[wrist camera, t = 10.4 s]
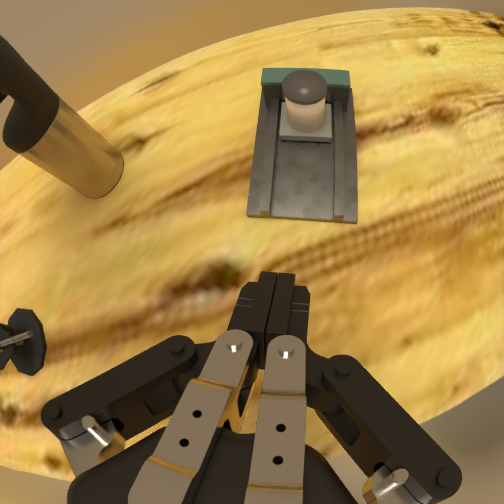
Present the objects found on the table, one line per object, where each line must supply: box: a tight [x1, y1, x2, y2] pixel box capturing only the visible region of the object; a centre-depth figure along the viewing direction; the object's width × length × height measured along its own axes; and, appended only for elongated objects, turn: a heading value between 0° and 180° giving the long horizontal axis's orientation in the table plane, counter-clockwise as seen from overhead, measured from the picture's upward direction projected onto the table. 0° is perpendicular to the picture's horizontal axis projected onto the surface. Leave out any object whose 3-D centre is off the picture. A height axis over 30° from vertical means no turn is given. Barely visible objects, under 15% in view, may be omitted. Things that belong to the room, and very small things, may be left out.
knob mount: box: [246, 68, 357, 224], centre depth 38 cm, size 14×22×7 cm, turn 174°
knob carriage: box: [279, 70, 332, 142], centre depth 36 cm, size 7×6×8 cm
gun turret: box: [0, 308, 47, 376], centre depth 36 cm, size 13×20×13 cm, turn 108°
